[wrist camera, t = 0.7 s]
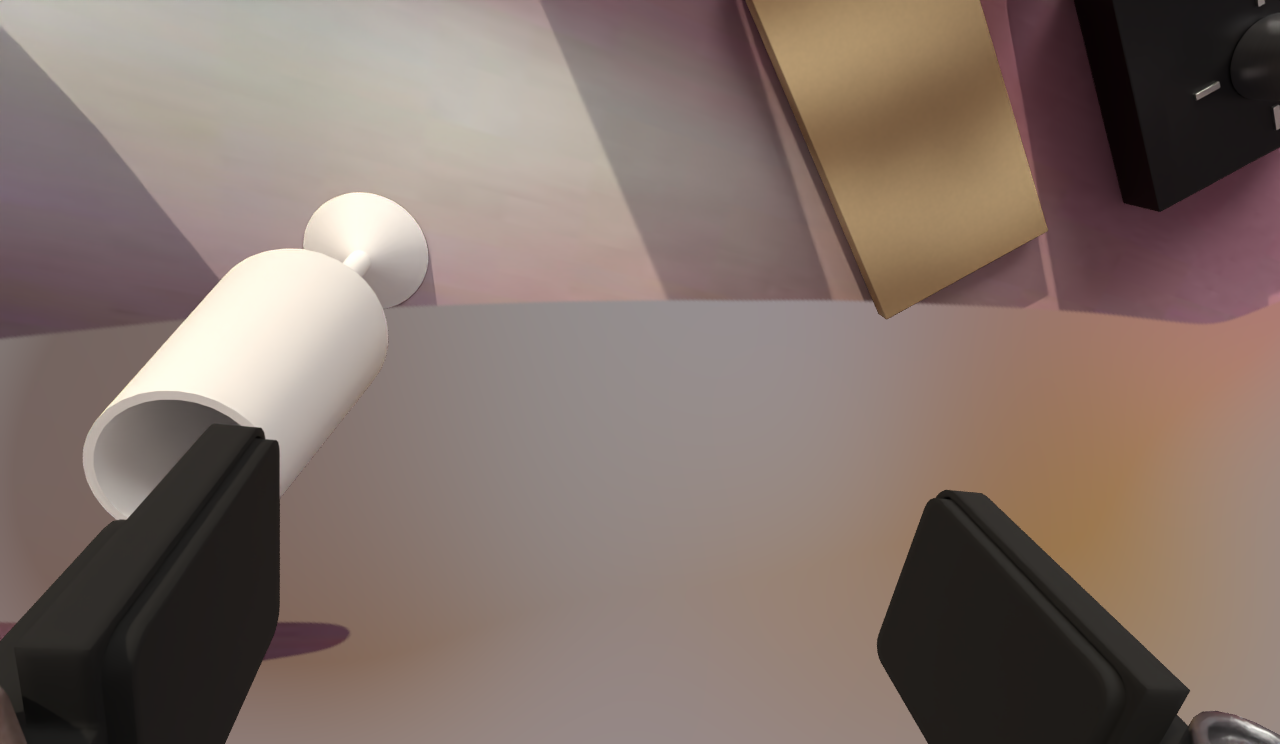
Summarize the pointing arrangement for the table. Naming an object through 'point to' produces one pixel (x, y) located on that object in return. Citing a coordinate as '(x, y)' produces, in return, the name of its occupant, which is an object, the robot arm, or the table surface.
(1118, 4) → the panel
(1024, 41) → the table surface
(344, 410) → the champagne flute
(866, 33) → the board
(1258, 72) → the hob knob
